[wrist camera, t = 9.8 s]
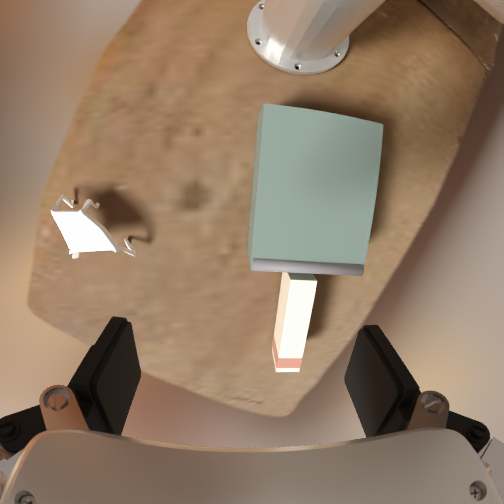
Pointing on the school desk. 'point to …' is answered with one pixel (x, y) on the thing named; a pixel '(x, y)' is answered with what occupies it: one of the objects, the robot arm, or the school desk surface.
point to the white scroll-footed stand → (85, 230)
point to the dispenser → (312, 191)
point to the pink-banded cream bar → (292, 320)
